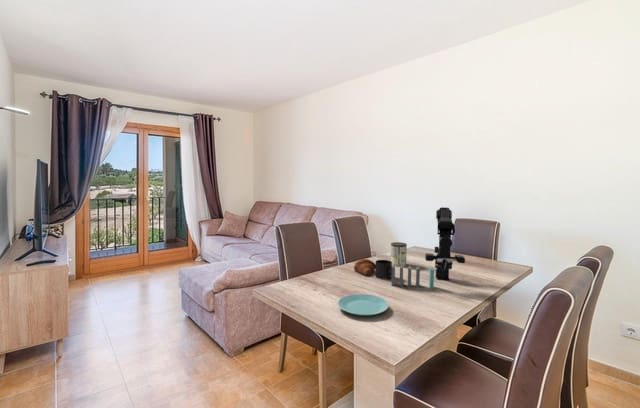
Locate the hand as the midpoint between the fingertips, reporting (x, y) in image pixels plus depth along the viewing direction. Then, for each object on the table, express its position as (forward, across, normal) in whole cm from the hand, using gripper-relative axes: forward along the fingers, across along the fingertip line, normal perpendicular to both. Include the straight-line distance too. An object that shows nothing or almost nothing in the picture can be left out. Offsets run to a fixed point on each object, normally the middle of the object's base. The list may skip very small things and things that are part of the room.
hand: (444, 274), depth 159 cm
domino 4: (+8, +13, 0) cm, 15 cm away
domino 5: (+8, +6, 0) cm, 10 cm away
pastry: (+8, +44, -21) cm, 49 cm away
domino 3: (+8, +17, 0) cm, 19 cm away
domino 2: (+8, +21, 0) cm, 23 cm away
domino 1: (+8, +26, 0) cm, 27 cm away
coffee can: (+8, +24, -42) cm, 49 cm away
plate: (+8, +38, +36) cm, 53 cm away
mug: (+8, +30, -11) cm, 33 cm away
